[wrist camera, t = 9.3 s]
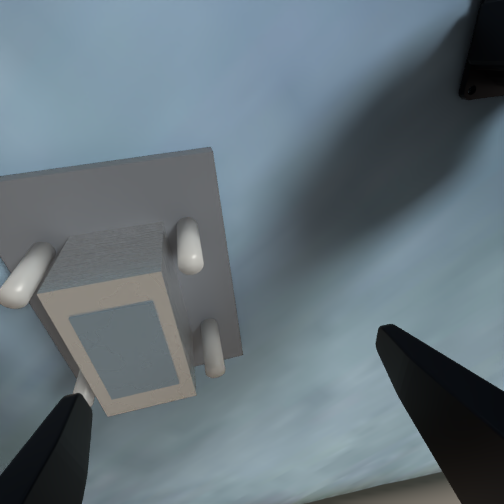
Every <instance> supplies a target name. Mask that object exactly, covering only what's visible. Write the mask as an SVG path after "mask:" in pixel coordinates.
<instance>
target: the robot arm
mask: <svg viewBox="0 0 504 504" xmlns="http://www.w3.org/2000/svg"><path fill="white" fill-rule="evenodd" d="M470 87H471V90H470V92H469V93H468V90H469V88H470ZM503 95H504V0H481V4H480V8H479V12H478V16H477V20H476V25H475V29H474V33H473V37H472V41H471V45H470V49H469V53H468V57H467V61H466V65H465V69H464V73H463V77H462V81H461V85H460V89H459V96H460V98H461V99H466V100H473V99H481V98H488V97H495V96H503ZM376 349H377V352H378V354H379V356H380V358H381V360H382V363H383V365H384V367H385V369H386V371H387V373H388V376H389V378H390V380H391V382H392V384H393V386H394V389H395V391H396V393H397V395H398V397H399V399H400V400H401V402H402V404H403V406H404V407H405V409H406V411H407V412H408V414H409V416H410V417H411V419H412V421H413V423H414V424H415V426H416V428H417V429H418V431H419V433H420V434H421V436H422V438H423V439H424V441H425V443H426V444H427V446H428V448H429V450H430V451H431V453H432V455H433V456H434V458H435V460H436V461H437V463H438V465H439V466H440V468H441V470H442V472H443V473H444V475H445V477H446V478H447V480H448V482H449V483H450V485H451V487H452V488H453V490H454V492H455V493H456V495H457V497H458V499H459V500H460V502H461V504H504V391H502V390H501V389H499V388H497V387H496V386H494V385H493V384H491V383H489V382H488V381H486V380H484V379H483V378H481V377H479V376H478V375H476V374H474V373H473V372H471V371H470V370H468V369H466V368H465V367H463V366H461V365H460V364H458V363H456V362H455V361H453V360H451V359H450V358H448V357H447V356H445V355H443V354H442V353H440V352H438V351H437V350H435V349H433V348H432V347H430V346H428V345H427V344H425V343H424V342H422V341H420V340H419V339H417V338H415V337H414V336H412V335H410V334H409V333H407V332H405V331H404V330H402V329H401V328H399V327H397V326H396V325H393V324H387V325H383V326H380V327H379V328H378V333H377V339H376ZM91 428H92V409H91V407H90V406H89V404H88V403H87V401H86V400H85V398H84V397H83V395H82V394H80V393H75V394H70V395H66V396H64V397H63V398H62V399H61V400H60V401H59V403H58V404H57V405H56V406H55V408H54V409H53V410H52V411H51V413H50V414H49V415H48V416H47V418H46V419H45V420H44V421H43V423H42V424H41V425H40V426H39V428H38V429H37V430H36V431H35V433H34V434H33V435H32V436H31V438H30V439H29V440H28V441H27V443H26V444H25V445H24V446H23V448H22V449H21V450H20V451H19V453H18V454H17V455H16V456H15V458H14V459H13V460H12V461H11V463H10V464H9V465H8V466H7V468H6V469H5V470H4V471H3V473H2V474H1V475H0V504H82V501H83V496H84V490H85V485H86V479H87V473H88V464H89V452H90V440H91Z"/></svg>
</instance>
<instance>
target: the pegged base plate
mask: <svg viewBox="0 0 504 504" xmlns="http://www.w3.org/2000/svg"><path fill="white" fill-rule="evenodd" d="M161 221H164V225H165V229H166V233H167V237H168V241H169V245H170V249H171V253H172V257H173V260H174V264H175V268H176V272H177V276H178V280H179V284H180V288H181V292H182V296H183V300H184V304H185V308H186V312H187V316H188V319H189V323H190V327H191V331H192V341H193V354H194V366H199V365H203V364H205V372H206V375H207V376H208V377H210V378H217V377H220V376H222V375H223V374H224V373H225V365H224V359H228V358H233V357H237V356H241V355H243V351H242V344H241V337H240V331H239V324H238V317H237V311H236V304H235V297H234V290H233V284H232V277H231V270H230V263H229V257H228V250H227V243H226V237H225V230H224V223H223V216H222V210H221V203H220V196H219V189H218V183H217V176H216V169H215V163H214V156H213V151H212V148H211V147H207V148H199V149H192V150H185V151H178V152H171V153H164V154H157V155H149V156H142V157H135V158H128V159H121V160H114V161H106V162H99V163H92V164H85V165H78V166H71V167H63V168H56V169H49V170H42V171H35V172H28V173H20V174H13V175H6V176H0V256H1V258H2V260H3V261H4V263H5V264H6V266H7V268H8V269H9V271H10V272H11V275H10V276H9V277H8V279H7V280H6V281H5V283H4V284H3V286H2V287H1V288H0V304H1V305H3V306H5V307H7V308H12V309H18V308H22V307H24V306H26V305H27V304H28V302H29V303H30V305H31V306H32V308H33V309H34V311H35V313H36V314H37V316H38V317H39V319H40V321H41V322H42V324H43V325H44V327H45V329H46V330H47V332H48V333H49V335H50V337H51V338H52V340H53V341H54V343H55V345H56V346H57V348H58V349H59V351H60V353H61V354H62V356H63V357H64V359H65V361H66V362H67V364H68V365H69V367H70V369H71V370H72V372H73V373H74V375H75V377H76V378H77V381H76V384H75V387H74V391H73V394H75V393H80V394H82V395H83V397H84V398H85V400H86V401H87V403H88V404H89V406H90V407H91V406H92V405H93V401H94V397H95V394H94V392H93V391H92V389H91V387H90V385H89V384H88V382H87V380H86V378H85V377H84V375H83V373H82V372H81V370H80V368H79V366H78V365H77V363H76V361H75V360H74V358H73V356H72V354H71V353H70V351H69V349H68V348H67V346H66V344H65V342H64V341H63V339H62V337H61V336H60V334H59V332H58V330H57V329H56V327H55V325H54V323H53V322H52V320H51V318H50V317H49V315H48V313H47V311H46V310H45V308H44V306H43V305H42V303H41V301H40V299H39V298H38V296H37V292H38V291H39V289H40V287H41V285H42V284H43V282H44V280H45V278H46V277H47V275H48V273H49V271H50V270H51V268H52V266H53V264H54V263H55V261H56V259H57V257H58V256H59V254H60V252H61V250H62V249H63V247H64V245H65V243H66V242H67V240H68V238H69V236H74V235H80V234H86V233H92V232H98V231H105V230H111V229H117V228H123V227H130V226H136V225H142V224H148V223H154V222H161Z"/></svg>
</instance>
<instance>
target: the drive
mask: <svg viewBox="0 0 504 504" xmlns="http://www.w3.org/2000/svg"><path fill="white" fill-rule="evenodd" d="M37 296H38V298H39V299H40V301H41V303H42V305H43V306H44V308H45V310H46V311H47V313H48V315H49V317H50V318H51V320H52V322H53V323H54V325H55V327H56V329H57V330H58V332H59V334H60V336H61V337H62V339H63V341H64V342H65V344H66V346H67V348H68V349H69V351H70V353H71V354H72V356H73V358H74V360H75V361H76V363H77V365H78V366H79V368H80V370H81V372H82V373H83V375H84V377H85V378H86V380H87V382H88V384H89V385H90V387H91V389H92V391H93V392H94V394H95V396H96V397H97V399H98V401H99V403H100V404H101V406H102V408H103V409H104V411H105V413H106V415H107V416H108V417H109V416H113V415H117V414H121V413H125V412H130V411H134V410H138V409H142V408H146V407H150V406H154V405H158V404H163V403H167V402H171V401H175V400H179V399H183V398H187V397H192V396H196V395H197V394H196V381H195V368H194V354H193V341H192V331H191V327H190V323H189V319H188V316H187V312H186V308H185V304H184V300H183V296H182V292H181V288H180V284H179V280H178V276H177V272H176V268H175V264H174V260H173V257H172V253H171V249H170V245H169V241H168V237H167V233H166V229H165V225H164V221H161V222H154V223H148V224H142V225H136V226H130V227H123V228H117V229H111V230H105V231H98V232H92V233H86V234H80V235H74V236H69V238H68V240H67V242H66V243H65V245H64V247H63V249H62V250H61V252H60V254H59V256H58V257H57V259H56V261H55V263H54V264H53V266H52V268H51V270H50V271H49V273H48V275H47V277H46V278H45V280H44V282H43V284H42V285H41V287H40V289H39V291H38V292H37Z"/></svg>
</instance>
